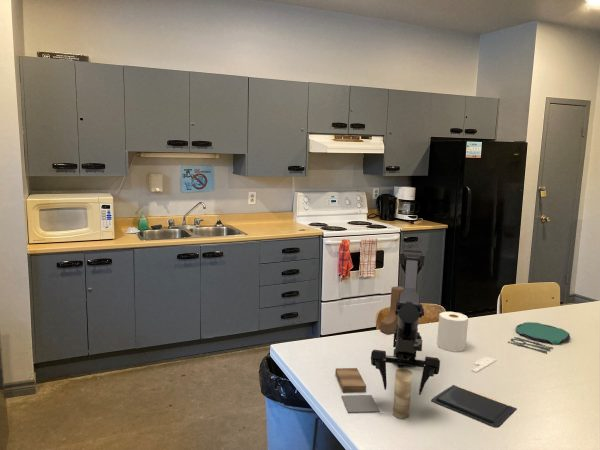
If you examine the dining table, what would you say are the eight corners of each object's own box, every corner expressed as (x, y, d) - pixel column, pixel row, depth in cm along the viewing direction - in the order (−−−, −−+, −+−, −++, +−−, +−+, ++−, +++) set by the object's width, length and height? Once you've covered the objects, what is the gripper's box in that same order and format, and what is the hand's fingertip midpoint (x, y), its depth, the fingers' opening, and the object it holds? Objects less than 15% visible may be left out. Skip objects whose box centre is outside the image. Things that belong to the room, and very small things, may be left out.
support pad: (371, 396, 143) (371, 394, 143) (379, 412, 134) (380, 410, 134) (341, 396, 142) (341, 395, 142) (348, 413, 133) (348, 411, 133)
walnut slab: (335, 374, 156) (335, 368, 156) (356, 373, 157) (356, 368, 157) (343, 392, 144) (343, 386, 144) (365, 392, 145) (366, 385, 145)
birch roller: (405, 410, 136) (409, 368, 134) (411, 418, 131) (414, 375, 130) (390, 410, 135) (393, 368, 133) (395, 419, 131) (398, 375, 129)
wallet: (429, 396, 142) (454, 380, 152) (428, 402, 142) (453, 386, 152) (496, 425, 128) (519, 405, 138) (496, 431, 128) (518, 411, 139)
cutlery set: (576, 336, 199) (576, 331, 198) (551, 357, 178) (552, 351, 177) (525, 323, 213) (526, 318, 212) (497, 342, 191) (498, 336, 191)
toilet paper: (462, 354, 176) (465, 322, 174) (433, 347, 181) (436, 316, 179) (467, 345, 185) (470, 314, 183) (440, 339, 190) (443, 309, 188)
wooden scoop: (386, 334, 192) (389, 291, 190) (379, 331, 196) (382, 288, 193) (404, 331, 197) (407, 288, 194) (396, 327, 200) (399, 285, 198)
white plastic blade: (462, 368, 165) (462, 365, 165) (483, 357, 175) (483, 354, 175) (476, 373, 161) (476, 370, 161) (496, 362, 171) (497, 359, 171)
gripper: (373, 322, 136) (366, 376, 127) (442, 330, 132) (440, 386, 123) (374, 339, 145) (368, 390, 136) (439, 347, 141) (437, 401, 132)
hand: (402, 391), depth 131 cm, fingers open, 9 cm apart
